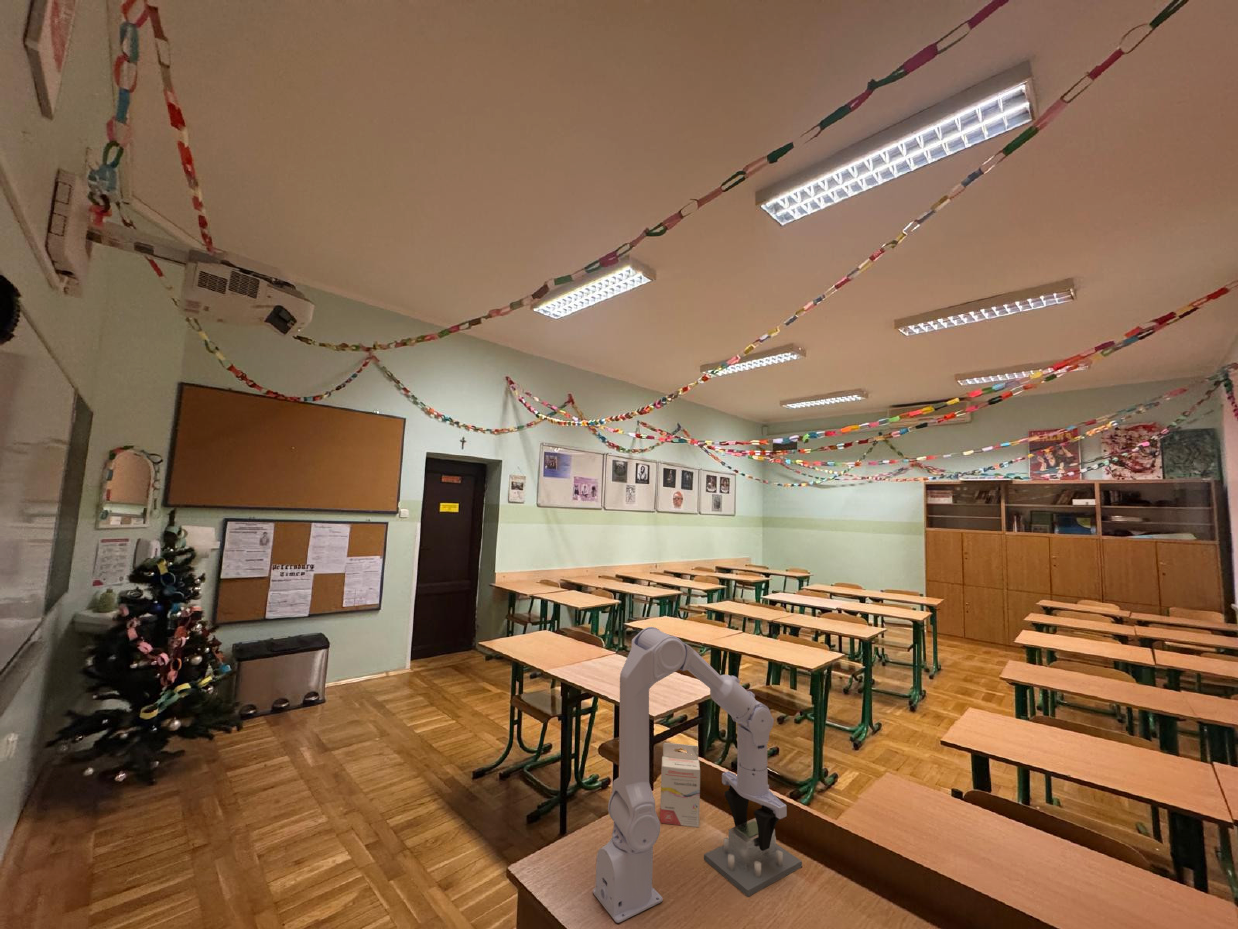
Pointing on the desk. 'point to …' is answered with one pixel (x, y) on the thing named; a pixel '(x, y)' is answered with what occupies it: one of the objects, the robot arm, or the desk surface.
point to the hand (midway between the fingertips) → (752, 839)
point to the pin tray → (755, 877)
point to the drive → (748, 845)
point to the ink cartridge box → (680, 785)
